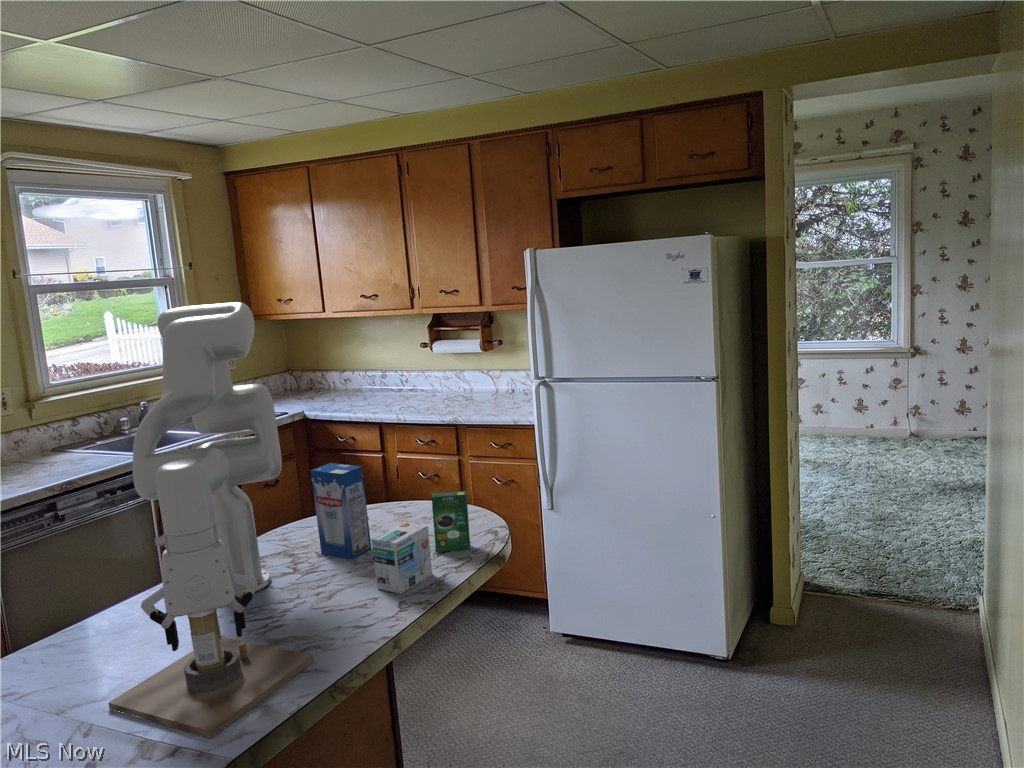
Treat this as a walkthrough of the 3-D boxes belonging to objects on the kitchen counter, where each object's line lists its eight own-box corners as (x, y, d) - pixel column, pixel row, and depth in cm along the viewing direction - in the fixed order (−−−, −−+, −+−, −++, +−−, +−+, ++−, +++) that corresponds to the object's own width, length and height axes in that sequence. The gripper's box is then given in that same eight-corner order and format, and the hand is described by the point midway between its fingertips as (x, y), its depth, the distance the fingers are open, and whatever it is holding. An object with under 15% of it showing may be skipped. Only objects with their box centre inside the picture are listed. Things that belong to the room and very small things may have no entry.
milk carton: (371, 550, 179) (361, 466, 176) (352, 560, 174) (342, 474, 171) (340, 544, 185) (330, 462, 181) (321, 553, 180) (310, 470, 176)
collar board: (109, 709, 121) (104, 685, 121) (218, 642, 141) (215, 620, 140) (211, 738, 112) (207, 712, 111) (313, 661, 131) (310, 638, 130)
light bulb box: (401, 595, 154) (395, 543, 152) (375, 589, 158) (369, 539, 156) (434, 574, 163) (429, 524, 161) (409, 569, 167) (403, 521, 165)
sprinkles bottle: (233, 670, 128) (221, 593, 126) (218, 685, 123) (205, 606, 121) (207, 669, 129) (195, 593, 126) (192, 685, 124) (178, 606, 122)
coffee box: (471, 544, 177) (466, 489, 175) (471, 549, 174) (466, 493, 172) (436, 548, 177) (430, 493, 175) (435, 553, 174) (429, 497, 172)
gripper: (128, 558, 116) (146, 664, 119) (249, 535, 121) (264, 638, 124) (134, 541, 123) (152, 642, 126) (249, 521, 128) (263, 618, 131)
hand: (208, 640), depth 125 cm, fingers open, 9 cm apart
